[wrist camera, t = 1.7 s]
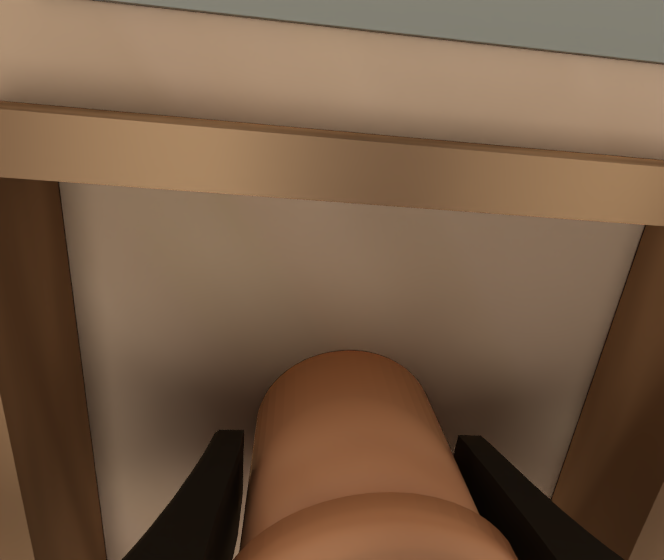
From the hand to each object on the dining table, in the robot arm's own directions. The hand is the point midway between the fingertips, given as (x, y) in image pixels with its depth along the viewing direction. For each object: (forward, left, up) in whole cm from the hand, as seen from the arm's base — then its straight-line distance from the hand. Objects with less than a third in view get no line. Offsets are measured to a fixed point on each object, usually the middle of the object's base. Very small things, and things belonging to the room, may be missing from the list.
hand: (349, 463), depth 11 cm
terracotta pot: (0, 0, -1) cm, 1 cm away
